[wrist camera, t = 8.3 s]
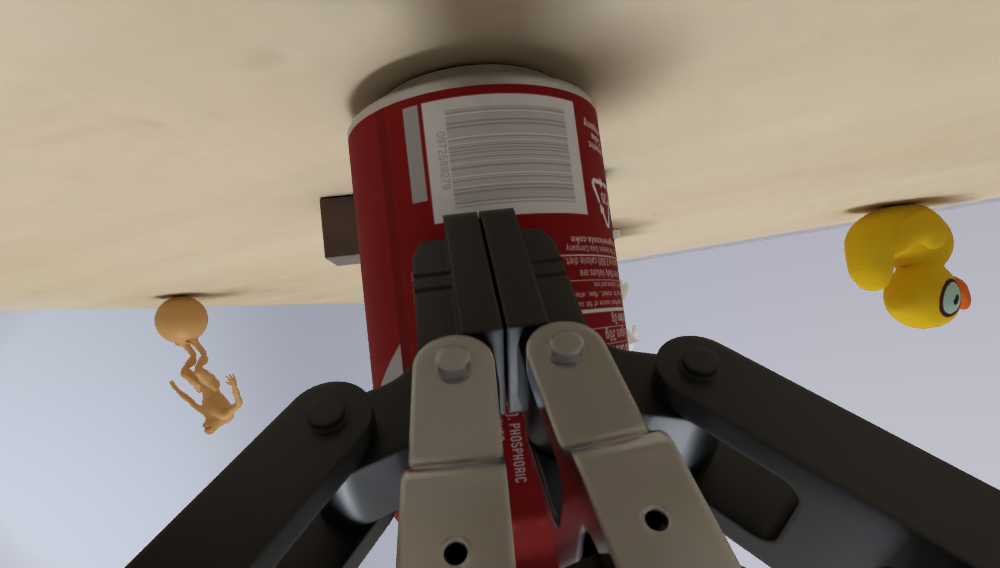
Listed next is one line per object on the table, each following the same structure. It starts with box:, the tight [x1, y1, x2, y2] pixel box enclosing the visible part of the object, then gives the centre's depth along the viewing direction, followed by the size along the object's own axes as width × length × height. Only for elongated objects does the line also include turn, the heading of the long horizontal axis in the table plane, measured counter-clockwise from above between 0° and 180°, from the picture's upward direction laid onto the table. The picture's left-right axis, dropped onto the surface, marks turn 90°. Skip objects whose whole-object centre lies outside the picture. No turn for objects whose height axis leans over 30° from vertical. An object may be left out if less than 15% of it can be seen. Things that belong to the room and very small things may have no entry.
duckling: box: [845, 204, 971, 329], centre depth 47 cm, size 11×5×10 cm, turn 72°
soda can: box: [348, 64, 629, 568], centre depth 16 cm, size 7×7×12 cm
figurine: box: [155, 296, 243, 435], centre depth 50 cm, size 8×6×12 cm
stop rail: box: [320, 196, 360, 266], centre depth 26 cm, size 12×2×2 cm, turn 86°
